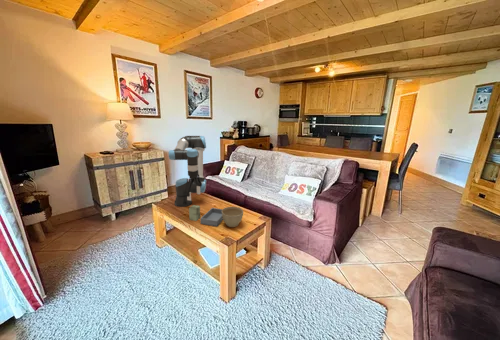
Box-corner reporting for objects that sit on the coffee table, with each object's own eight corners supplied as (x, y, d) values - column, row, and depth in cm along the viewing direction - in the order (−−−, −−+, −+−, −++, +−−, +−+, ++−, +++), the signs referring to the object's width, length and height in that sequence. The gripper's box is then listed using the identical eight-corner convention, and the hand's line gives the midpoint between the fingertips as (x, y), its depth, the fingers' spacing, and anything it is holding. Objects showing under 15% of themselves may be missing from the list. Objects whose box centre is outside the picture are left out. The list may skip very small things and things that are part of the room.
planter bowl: (235, 232, 142) (235, 218, 140) (217, 225, 150) (217, 212, 147) (247, 222, 156) (247, 209, 153) (229, 217, 164) (229, 204, 161)
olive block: (193, 216, 163) (193, 204, 161) (200, 217, 162) (199, 206, 159) (189, 219, 158) (188, 208, 155) (196, 221, 156) (195, 209, 154)
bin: (212, 212, 170) (212, 207, 169) (227, 215, 167) (227, 210, 166) (200, 223, 152) (200, 218, 151) (217, 226, 149) (217, 221, 147)
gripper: (188, 174, 137) (189, 203, 142) (205, 167, 160) (206, 192, 166) (178, 173, 139) (180, 202, 144) (197, 166, 162) (198, 191, 168)
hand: (194, 197), depth 155 cm, fingers open, 13 cm apart
